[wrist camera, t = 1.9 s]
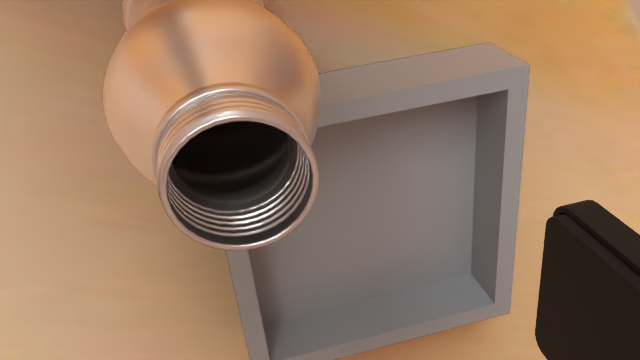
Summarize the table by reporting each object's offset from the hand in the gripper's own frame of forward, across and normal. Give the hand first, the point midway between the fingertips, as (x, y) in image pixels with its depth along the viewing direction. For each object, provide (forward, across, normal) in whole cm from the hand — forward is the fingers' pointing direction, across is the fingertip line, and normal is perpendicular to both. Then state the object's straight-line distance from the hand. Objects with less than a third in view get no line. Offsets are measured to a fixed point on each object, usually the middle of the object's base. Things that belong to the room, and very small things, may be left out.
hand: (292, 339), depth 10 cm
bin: (+25, -8, +13) cm, 29 cm away
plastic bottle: (+25, 0, -1) cm, 25 cm away
